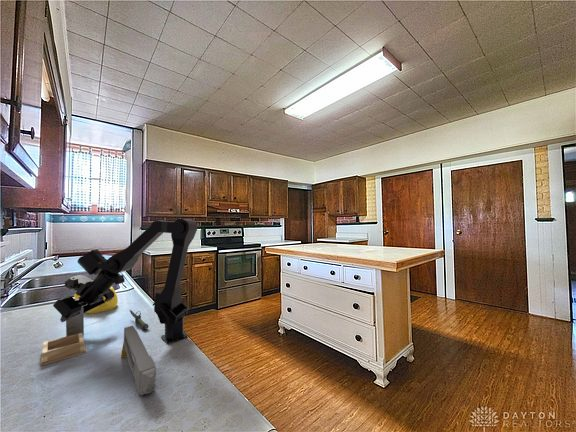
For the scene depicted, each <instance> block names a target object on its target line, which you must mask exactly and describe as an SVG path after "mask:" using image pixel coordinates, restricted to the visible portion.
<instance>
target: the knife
mask: <svg viewBox="0 0 576 432" xmlns="http://www.w3.org/2000/svg"><path fill="white" fill-rule="evenodd" d="M129 312H130V314H131V315H132V317H133V318H134V323H135V325H136V326H138V325H140V327H141V328H142V330H143V331H146V330H148V328H149V327H150V326H149V324H147V323H146V322H145V321H144V320H142V313H141V311H139V310H138V311H136V313H135V312H134V311H133V310H132V309H129ZM138 313H139V314H138ZM137 314H138V315H137Z"/></svg>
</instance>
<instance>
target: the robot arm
mask: <svg viewBox="0 0 576 432" xmlns="http://www.w3.org/2000/svg"><path fill="white" fill-rule="evenodd" d="M197 231H198V225H197V222H196V221H195V220H194V219H191V218H178V219H176V220H174V221H171V220H163V219H162V220H161V219H160V220H158V219H157V220H154V221H152V222H151V224H150V225H149V226H148V227H147V228H146V229H145V230H144V231H143V232H142V233H141V234H140V235H139V236H137V238H136V239H134V240H133V241H132V242H131V243H130V244H129V245H128V246H127V247H125V248H124V249H122V250H120V251H117V252H116V253H114V254H113V255H112V256H110V257H109V258H108V259H107V258H106V257H105V256H104V255H103V254H102V252H101V251H99V249H92V250H90V251H88V252H87V253H85V254H84V255H82V256H80V257H79V258H78V259H77V264H79V266H80V267H81V268H82V269H83V270H84V271H85V272H86V273H87V274H88V275H89V276H91V275H96V276H95V277H94V278H93V279H92V278H90V277H87V276H85V275H83V274H78V275H75V276H71V277H69V278H67V280H66V281H64V287H65V288H67V289H69V290H73V291H75V294H77V295H78V296H80V297H79V298H78V299H79V300H76V299H75V298H74V296H71V295H70V296H64V297H61V298H58V299H57V300H56V301H55V302H53V304H52V307H53V308H54V309H56V311H57V312H58V313H59V314H60V315H61V317H60V319H59V321H60V322H61V323H64V322H65V323H66V321H67V320H68V319H70V318H72V317H74V316H76V315H78V314H80V311H81V308H82V306H83V311H84V314H85V313H86V312H87V311H89V310H91V309H93V308H96V307H98V306H100V305H102V304H104V303H105V302H108V301H110V300H112V298H113V297H114V292H113V291H112V290H111V289H110V288H111V286H112V287H113V285H114V284H115V285H116V286H117V285H120V284H123V283H125V278H124V277H125V276H124V274H120V273H123V272H126V271H129V270H132V269H133V268H134V266H135V265H136V264H137V262H138V260H139V258H140V256H141V255H142V253H144V252H145V250H147V249H148V248H149V247H150V246H151V245H152V244H153V243H154V242H155V241H156V240H158V239H159V238H160V237H161V236H162V235H163V234H164V233H166V234H170V235H171V237H170V238H171V241H172V250H171V254H170V259H169V262H168V263H169V264H168V269H167V274H166V278H165V283H164V286H163V289H161V290H159V291H157V292H156V293H155V295H154V301H153V304H152V306H154V307H153V310H154V313H155V314H156V316H157V319H158V320H159V323H160V325H163V324H164V334H162V335H161V336H160V337H161V339H162V340H163V341H164V342H165V343H166V344H171V343H175V342H177V341H180V340H183V339H187V338H188V334H187V333H185V330H184V329H185V327H184V326H185V324H184V323H185V322H184V316H186V315H187V314H188V310H189V307H188V306H187V305H186V304H185V303H184V302H182V295H183V294H182V292H181V282H182V278H183V274H184V268H185V264H186V263H185V262H186V260H187V254H188V251H189V247H190V245H191V243H192V242H193V241H194V238H195V237H196V234H197ZM103 297H105V298H106V299H105V300H103V299H104V298H103Z"/></svg>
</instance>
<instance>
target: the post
mask: <svg viewBox="0 0 576 432" xmlns="http://www.w3.org/2000/svg"><path fill="white" fill-rule="evenodd" d="M77 300H79V299H77ZM84 314H85V313H84V311H83V306H82V308H81V311H80V314H78V315H76V316H74V317H72V318H70V319H68V320H67V321H65V337H66V336H70V335H74V334H78V333H82V334H83V338H84V337H85V330H84V329H85V326H84V325H85V324H84V323H85V322H84V321H85V319H84V317H85V316H84Z"/></svg>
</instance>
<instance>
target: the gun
mask: <svg viewBox="0 0 576 432" xmlns="http://www.w3.org/2000/svg"><path fill="white" fill-rule="evenodd" d="M126 357H127V358H126ZM120 358H121V359H124V358H126V359H127V362H128V365H129V368H130V371H131V373H132V375H133V378H134V386H135V390H136V394H137V395H138V396H143V395H147V394H150V393H152V392H153V391H155V390H156V387H157V383H156V377H157V367H156V363H155V362H154V359H153V357H152V356H151V355H149V353H148V351H147V348H146V346H145V344H144V342H143V340H142V339H141V337H140V335H139V333H138V331H137V329H136V328H135V327H134V325H130V326H125V327H124V328H123V343H122V349H121V354H120Z"/></svg>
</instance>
